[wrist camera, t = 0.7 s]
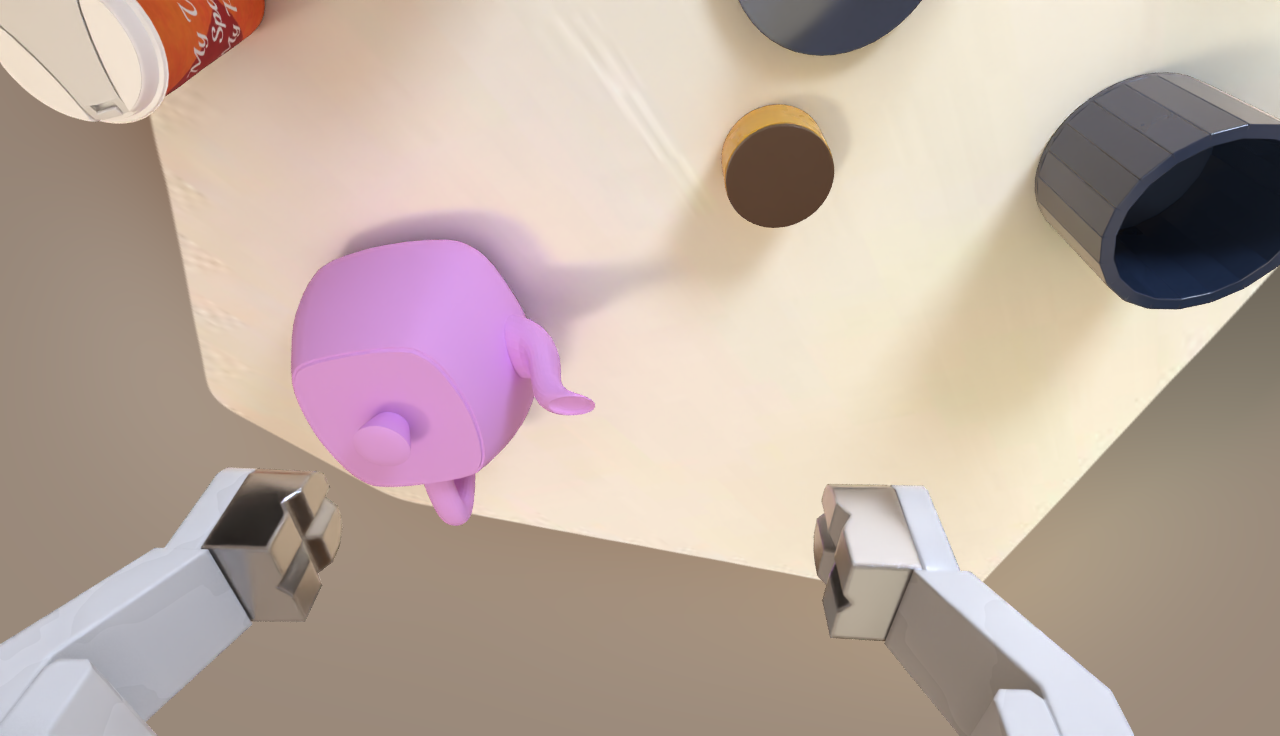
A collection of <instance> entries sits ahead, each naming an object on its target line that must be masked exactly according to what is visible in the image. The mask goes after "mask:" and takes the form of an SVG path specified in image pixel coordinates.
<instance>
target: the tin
mask: <svg viewBox="0 0 1280 736" xmlns="http://www.w3.org/2000/svg"><path fill="white" fill-rule="evenodd" d="M722 170H723V176H724V182H725V188H726V192H727V195H728V198H729V200H730V202H731V204H732V206H733V207H734V209H735V210H736V211H737V212H738V214H740V215H741V216H742V217H743V218H744V219H746V220H747V221H749V222H751V223H753V224H756V225H759V226H763V227H771V228H778V227H786V226H790V225H793V224H796V223H798V222H800V221H802V220H804V219H806V218H807V217H809V216H810V215H812V214H813V213H814V212H815V211H816V210H817V209H818V208H819V207H820V206H821V205H822V204H823V202H824V201H825V199H826V198H827V196H828V194H829V192H830V189H831V187H832V183H833V178H834V164H833V159H832V155H831V152H830V149H829V147H828V145H827V143H826V141H825V139H824V137H823V135H822V133H821V131H820V129H819V127H818V125H817V124H816V122H815V121H814V120H813V119H812V118H811V117H810V116H809V115H808V114H807V113H805V112H804V111H802V110H800V109H798V108H795V107H793V106H788V105H780V104H778V105H768V106H764V107H761V108H758V109H755V110H753V111H751V112H750V113H748V114H746V115H745V116H744V117H742V118H741V119H740V120H739V121H738V122H737V123H736V124H735V125H734V126H733V128H732V129H731V130H730V132H729V134H728V135H727V138H726V140H725V142H724V146H723V149H722Z"/></svg>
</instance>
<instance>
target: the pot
mask: <svg viewBox="0 0 1280 736" xmlns="http://www.w3.org/2000/svg"><path fill="white" fill-rule="evenodd" d="M1035 195H1036V201H1037V204H1038V207H1039V209H1040V211H1041V213H1042V215H1043V216H1044V218H1045V220H1046V221H1047V222H1048V223H1049V224H1050V225H1051V226H1052V227H1053V228H1054V229H1055V231H1056V232H1057V233H1058V234H1059V235H1060V236H1061V237H1062V238H1063V239H1064V240H1065V241H1066V242H1067V243H1068V244H1069V245H1070V247H1071V248H1072V249H1073V250H1074V251H1075V252H1076V253H1077V254H1078V255H1079V256H1080V257H1081V258H1082V259H1083V260H1084V261H1085V263H1086V264H1087V265H1088V266H1089V267H1090V268H1091V269H1092V270H1093V271H1094V272H1095V273H1096V274H1097V275H1098V276H1099V277H1100V278H1101V280H1102V281H1103V282H1104V283H1105V284H1106V285H1107V286H1108V287H1109V288H1110V289H1111V290H1113V291H1114V292H1115V293H1116V294H1117V295H1118V296H1119V297H1120V298H1121V299H1122V300H1124V301H1127V302H1129V303H1132V304H1135V305H1138V306H1141V307H1144V308H1147V309H1148V308H1149V309H1183V308H1187V307H1192V306H1197V305H1201V304H1206V303H1210V302H1213V301H1216V300H1218V299H1221V298H1223V297H1225V296H1228V295H1230V294H1232V293H1235V292H1237V291H1239V290H1242V289H1244V287H1247V286H1249V285H1250V284H1252V283H1254V282H1255V281H1257V280H1258V279H1260V278H1261V277H1263V276H1264V275H1266V274H1267V273H1269V272H1270V271H1272V270H1273V269H1275V268H1276V267H1278V266H1279V265H1280V119H1279V118H1277V117H1275V116H1273V115H1271V114H1268V113H1266V112H1264V111H1262V110H1260V109H1258V108H1256V107H1254V106H1252V105H1250V104H1248V103H1246V102H1244V101H1242V100H1240V99H1238V98H1236V97H1234V96H1232V95H1230V94H1228V93H1226V92H1224V91H1222V90H1220V89H1218V88H1216V87H1214V86H1212V85H1210V84H1207V83H1205V82H1202V81H1200V80H1198V79H1195V78H1193V77H1191V76H1188V75H1184V74H1179V73H1169V72H1163V73H1151V74H1146V75H1140V76H1137V77H1133V78H1130V79H1127V80H1124V81H1122V82H1119V83H1117V84H1114V85H1113V86H1111V87H1109V88H1107V89H1105V90H1103V91H1101V92H1100V93H1098V94H1097V95H1095V96H1093V97H1092V98H1090V99H1089V100H1088V101H1086V102H1085V103H1084V104H1082V105H1081V106H1080V107H1079V108H1077V109H1076V110H1075V111H1074V112H1073V113H1072V114H1071V115H1070V116H1069V117H1068V118H1067V119H1066V120H1065V121H1064V122H1063V124H1062V125H1061V126H1060V127H1059V128H1058V130H1057V131H1056V132H1055V134H1054V135H1053V136H1052V138H1051V139H1050V141H1049V143H1048V144H1047V146H1046V148H1045V150H1044V152H1043V154H1042V157H1041V159H1040V162H1039V165H1038V168H1037V172H1036V178H1035Z"/></svg>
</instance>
